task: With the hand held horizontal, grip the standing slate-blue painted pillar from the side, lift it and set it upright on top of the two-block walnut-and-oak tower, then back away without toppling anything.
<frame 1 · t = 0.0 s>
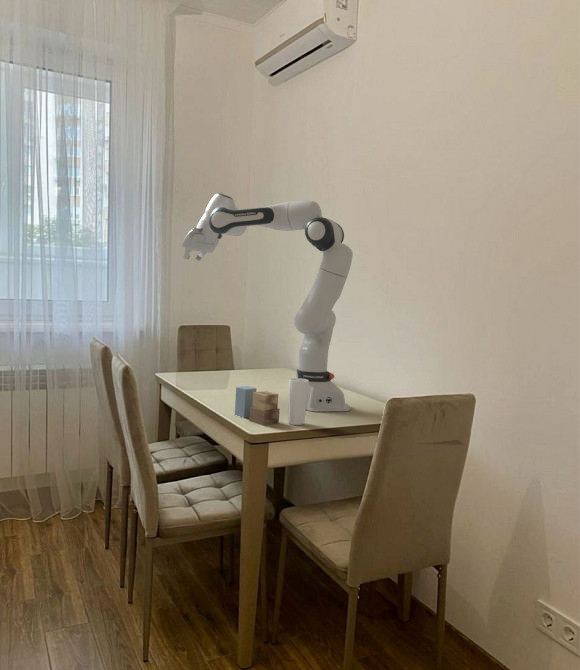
hand: (191, 259, 240), 54 cm above the table, tool tilted 30°, fingers open, 8 cm apart
pillar: (244, 415, 203), on the table
drinking glass: (296, 424, 196), on the table
tower top: (264, 407, 195), point 5 cm above the table, touching tower base
tower base: (264, 422, 196), on the table, touching tower top
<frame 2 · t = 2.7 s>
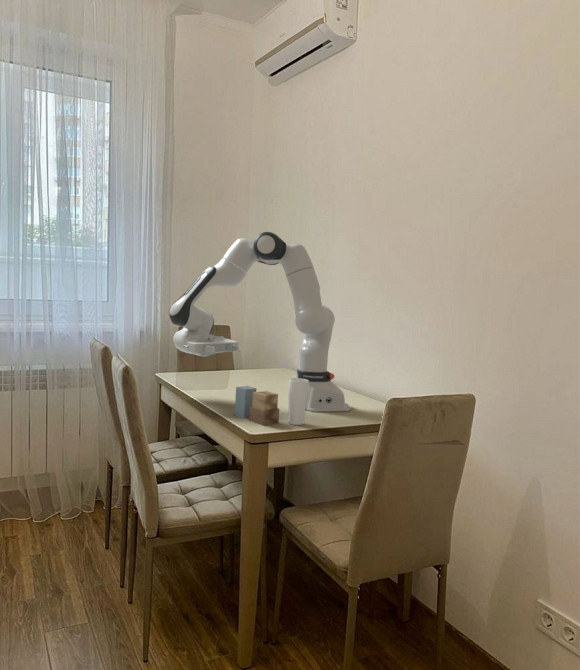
hand: (226, 349, 209), 22 cm above the table, tool horizontal, fingers open, 8 cm apart
nothing on the table moved.
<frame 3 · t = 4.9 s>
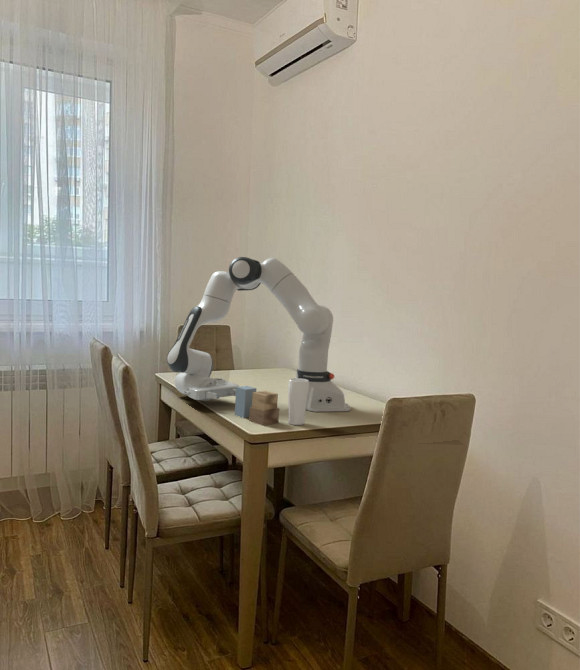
hand: (227, 395, 209), 5 cm above the table, tool horizontal, fingers open, 8 cm apart
nothing on the table moved.
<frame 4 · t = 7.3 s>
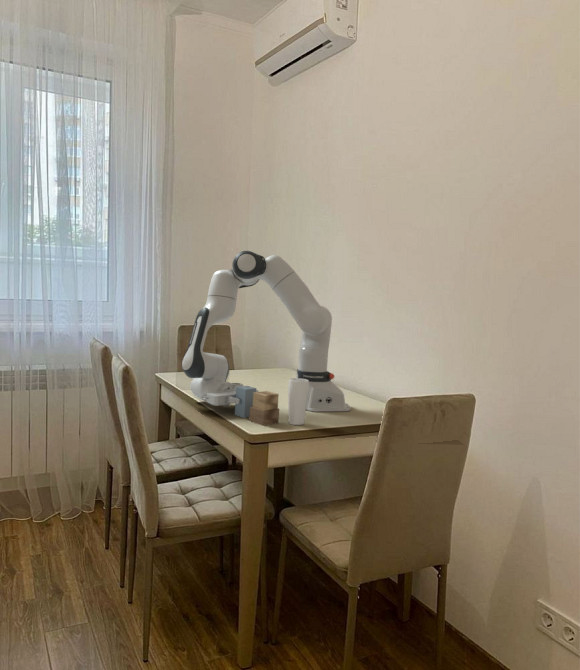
hand: (247, 400, 201), 6 cm above the table, tool horizontal, fingers closed on pillar, 5 cm apart
pillar: (244, 415, 203), on the table, touching gripper
everything else where it was.
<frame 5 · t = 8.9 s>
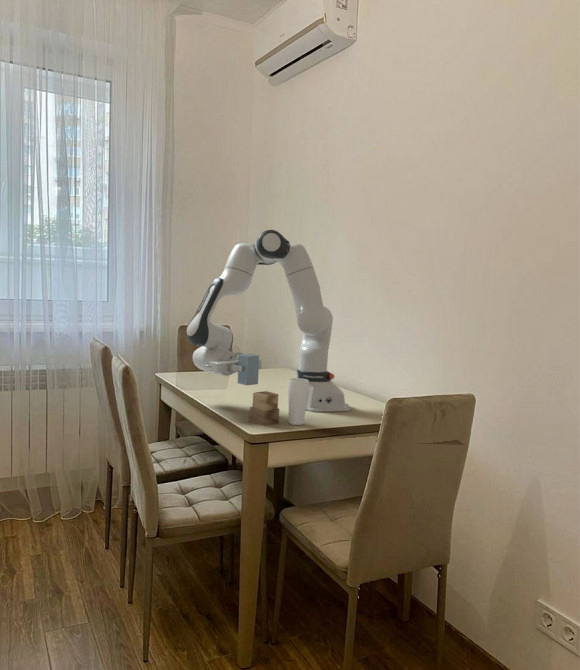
hand: (250, 368, 200), 17 cm above the table, tool horizontal, fingers closed on pillar, 5 cm apart
pillar: (247, 383, 201), point 11 cm above the table, touching gripper
everything else where it was.
when the fingers open (16 cm above the table, at t = 11.8 s): pillar stays where it is, resting on tower top.
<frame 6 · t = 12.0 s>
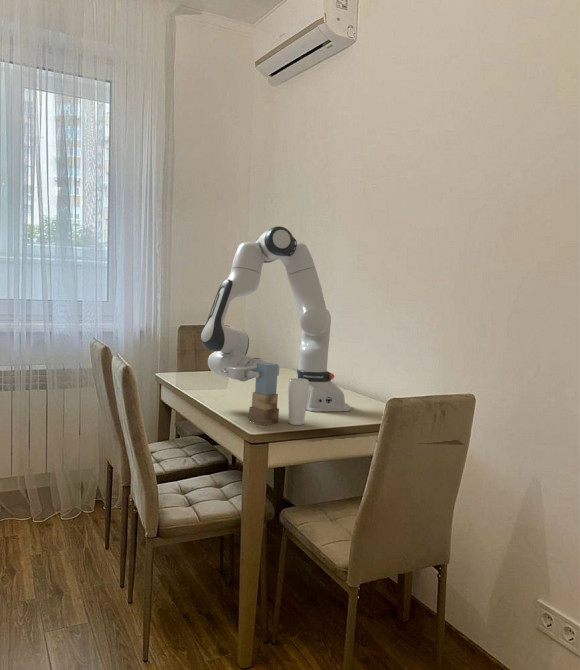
hand: (268, 374, 193), 16 cm above the table, tool horizontal, fingers open, 7 cm apart
pillar: (265, 393, 195), point 10 cm above the table, touching tower top
tower top: (264, 407, 195), point 5 cm above the table, touching pillar, tower base
everything else where it was.
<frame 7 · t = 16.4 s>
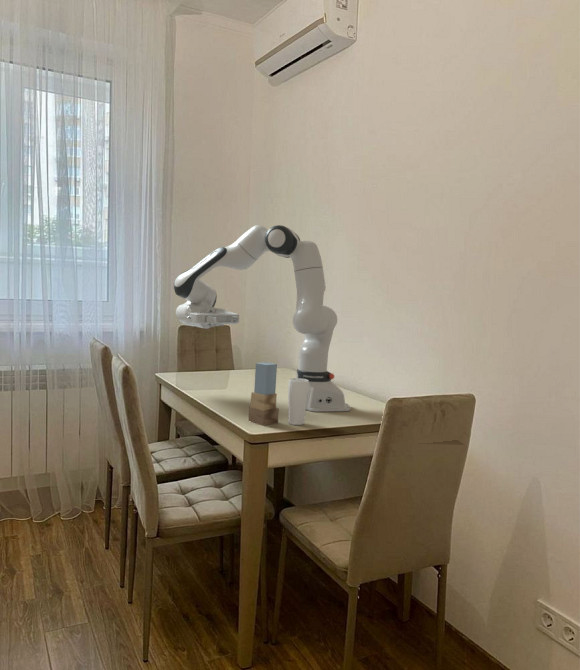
hand: (227, 320, 215), 32 cm above the table, tool horizontal, fingers open, 8 cm apart
nothing on the table moved.
at the end: pillar 0.0 cm off-centre on the tower base, point 10.0 cm above the tower base's base; pillar tilted 0°; tower top 0.2 cm off-centre on the tower base, point 5.0 cm above the tower base's base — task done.
